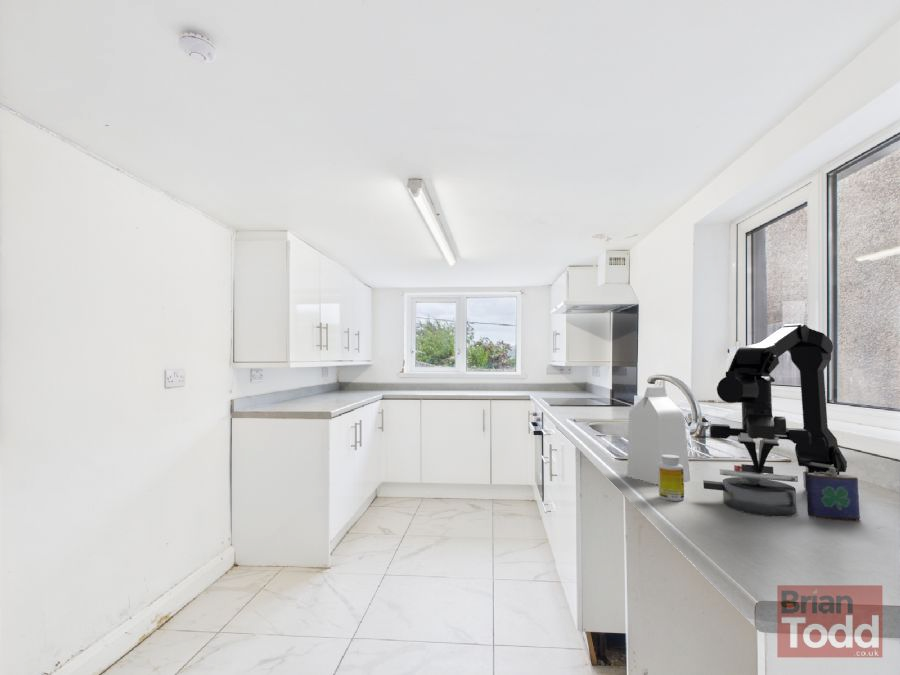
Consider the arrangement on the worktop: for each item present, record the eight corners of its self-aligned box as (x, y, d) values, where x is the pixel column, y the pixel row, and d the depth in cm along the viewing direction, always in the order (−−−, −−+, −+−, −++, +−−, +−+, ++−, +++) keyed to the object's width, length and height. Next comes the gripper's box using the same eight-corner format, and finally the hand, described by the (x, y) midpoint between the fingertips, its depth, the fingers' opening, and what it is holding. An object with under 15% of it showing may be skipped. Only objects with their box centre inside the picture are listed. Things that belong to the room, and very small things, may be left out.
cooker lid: (791, 480, 110) (790, 468, 111) (804, 482, 97) (803, 469, 98) (718, 473, 117) (717, 462, 118) (721, 475, 104) (721, 462, 105)
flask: (856, 517, 99) (853, 466, 100) (864, 522, 97) (861, 469, 97) (805, 514, 102) (803, 464, 102) (811, 518, 99) (809, 467, 100)
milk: (661, 485, 125) (658, 388, 127) (627, 476, 136) (625, 386, 137) (690, 480, 131) (687, 387, 132) (655, 472, 141) (653, 385, 143)
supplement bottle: (687, 502, 110) (685, 458, 111) (662, 501, 112) (660, 457, 112) (680, 496, 116) (679, 454, 116) (656, 494, 117) (655, 453, 118)
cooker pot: (788, 500, 111) (787, 479, 112) (803, 520, 97) (802, 496, 98) (703, 491, 120) (702, 471, 120) (705, 508, 106) (704, 486, 106)
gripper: (710, 402, 102) (712, 474, 101) (816, 406, 94) (820, 485, 93) (708, 400, 112) (710, 465, 111) (804, 403, 104) (807, 474, 103)
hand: (758, 472), depth 104 cm, fingers closed, pressing on cooker lid
